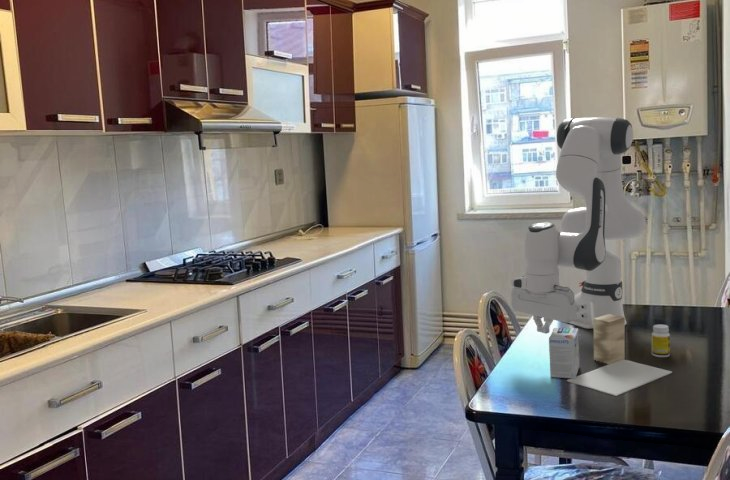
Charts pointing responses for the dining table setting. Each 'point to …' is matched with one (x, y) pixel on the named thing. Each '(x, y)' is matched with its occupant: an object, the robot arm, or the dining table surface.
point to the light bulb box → (564, 352)
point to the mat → (619, 377)
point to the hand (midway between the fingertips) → (543, 332)
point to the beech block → (609, 338)
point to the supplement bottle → (660, 341)
